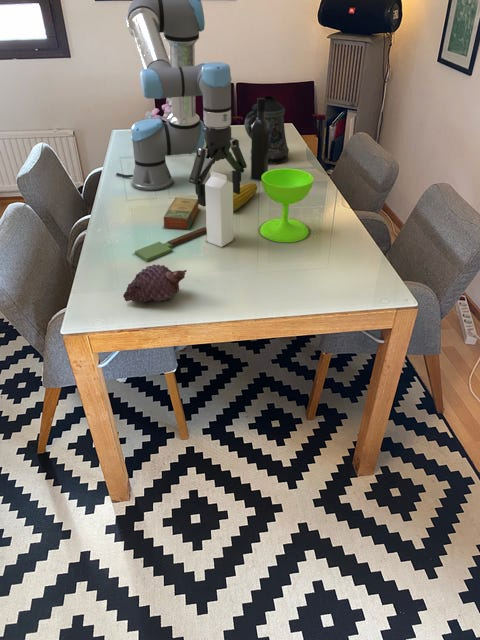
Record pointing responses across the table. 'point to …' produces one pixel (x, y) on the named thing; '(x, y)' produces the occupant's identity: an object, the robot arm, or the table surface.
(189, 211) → the carton
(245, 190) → the food
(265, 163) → the wine bottle
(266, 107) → the beer stein
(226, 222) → the milk
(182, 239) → the spatula
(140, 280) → the pine cone
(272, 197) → the wineglass
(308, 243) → the table surface
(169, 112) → the flower
